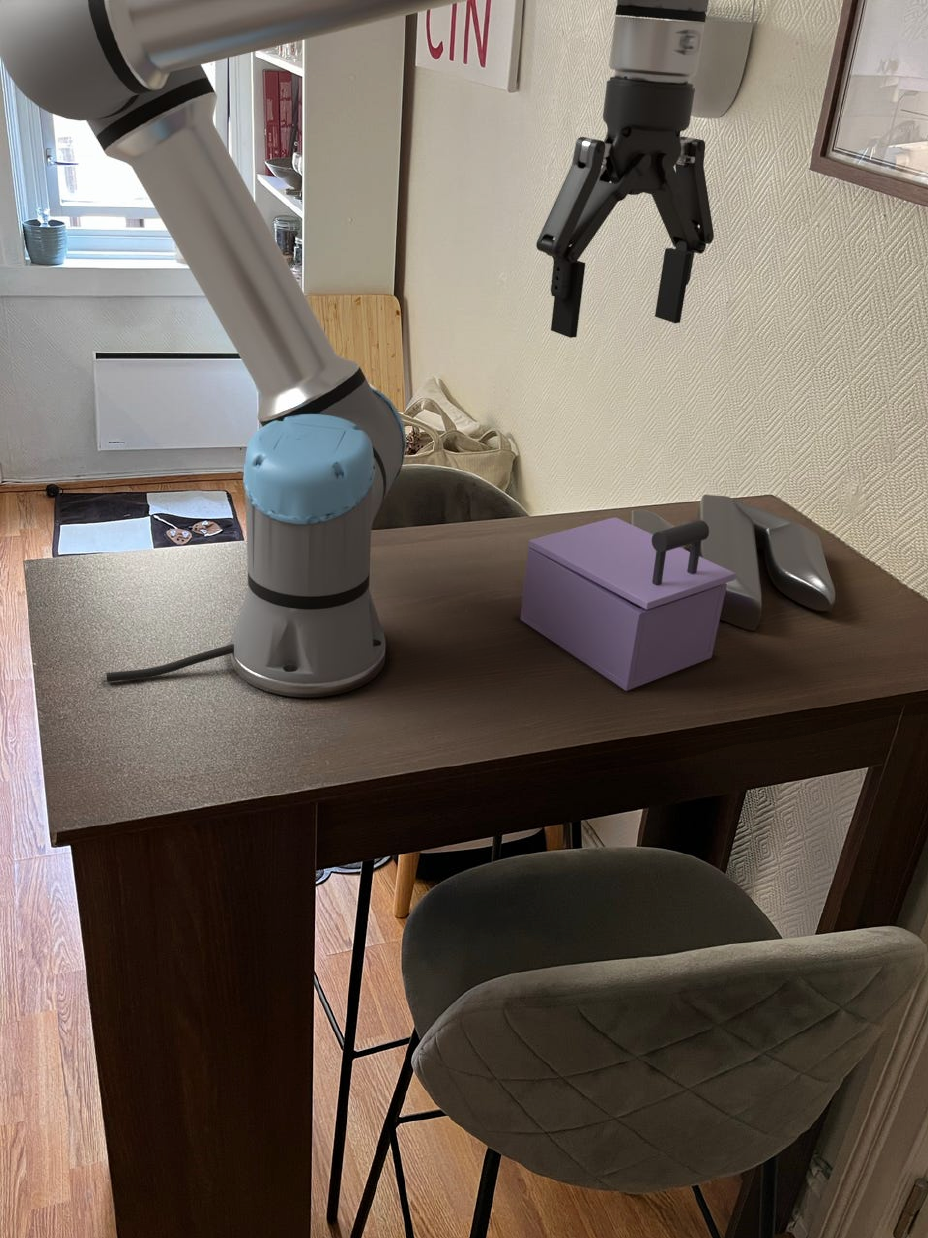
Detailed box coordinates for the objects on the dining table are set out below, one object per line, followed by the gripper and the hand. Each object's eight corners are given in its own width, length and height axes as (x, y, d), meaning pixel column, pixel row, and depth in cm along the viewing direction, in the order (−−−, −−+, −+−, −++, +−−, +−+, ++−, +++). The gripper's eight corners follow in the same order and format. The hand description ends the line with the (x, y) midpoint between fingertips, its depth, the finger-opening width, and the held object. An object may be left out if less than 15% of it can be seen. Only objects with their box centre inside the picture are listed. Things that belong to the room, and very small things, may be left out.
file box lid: (734, 580, 112) (745, 522, 109) (646, 610, 105) (654, 549, 102) (614, 523, 124) (620, 469, 121) (528, 546, 117) (532, 490, 114)
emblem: (573, 496, 139) (758, 479, 149) (568, 535, 141) (750, 516, 151) (693, 600, 116) (901, 572, 126) (685, 644, 119) (889, 613, 129)
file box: (711, 657, 117) (727, 584, 113) (626, 691, 110) (639, 613, 106) (603, 593, 128) (614, 523, 124) (520, 619, 121) (528, 547, 117)
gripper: (572, 77, 85) (543, 351, 95) (780, 84, 99) (735, 323, 109) (510, 68, 90) (489, 329, 100) (716, 76, 104) (679, 305, 114)
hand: (617, 326), depth 105 cm, fingers open, 13 cm apart
